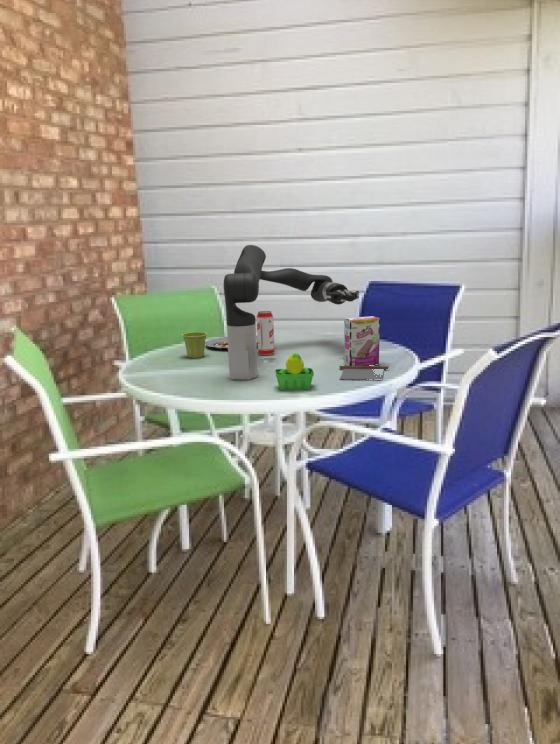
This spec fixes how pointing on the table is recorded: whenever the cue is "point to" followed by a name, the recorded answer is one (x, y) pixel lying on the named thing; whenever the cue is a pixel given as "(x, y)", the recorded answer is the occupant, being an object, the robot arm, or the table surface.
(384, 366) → the strip
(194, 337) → the plant pot
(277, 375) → the fruit basket
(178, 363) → the table surface
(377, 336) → the candy bar box
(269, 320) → the beer can
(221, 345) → the food plate
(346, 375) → the mat
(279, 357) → the table surface
